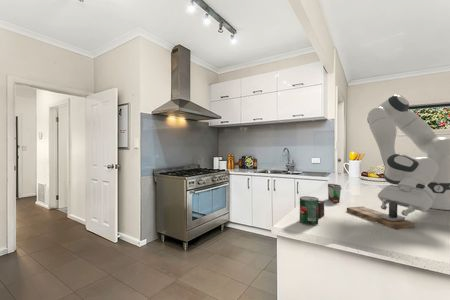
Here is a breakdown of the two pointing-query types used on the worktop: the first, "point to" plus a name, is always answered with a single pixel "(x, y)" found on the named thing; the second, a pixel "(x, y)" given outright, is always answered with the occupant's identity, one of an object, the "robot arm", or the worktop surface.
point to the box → (320, 209)
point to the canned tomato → (309, 210)
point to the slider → (393, 213)
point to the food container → (334, 193)
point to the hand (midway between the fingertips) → (392, 211)
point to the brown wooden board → (379, 218)
